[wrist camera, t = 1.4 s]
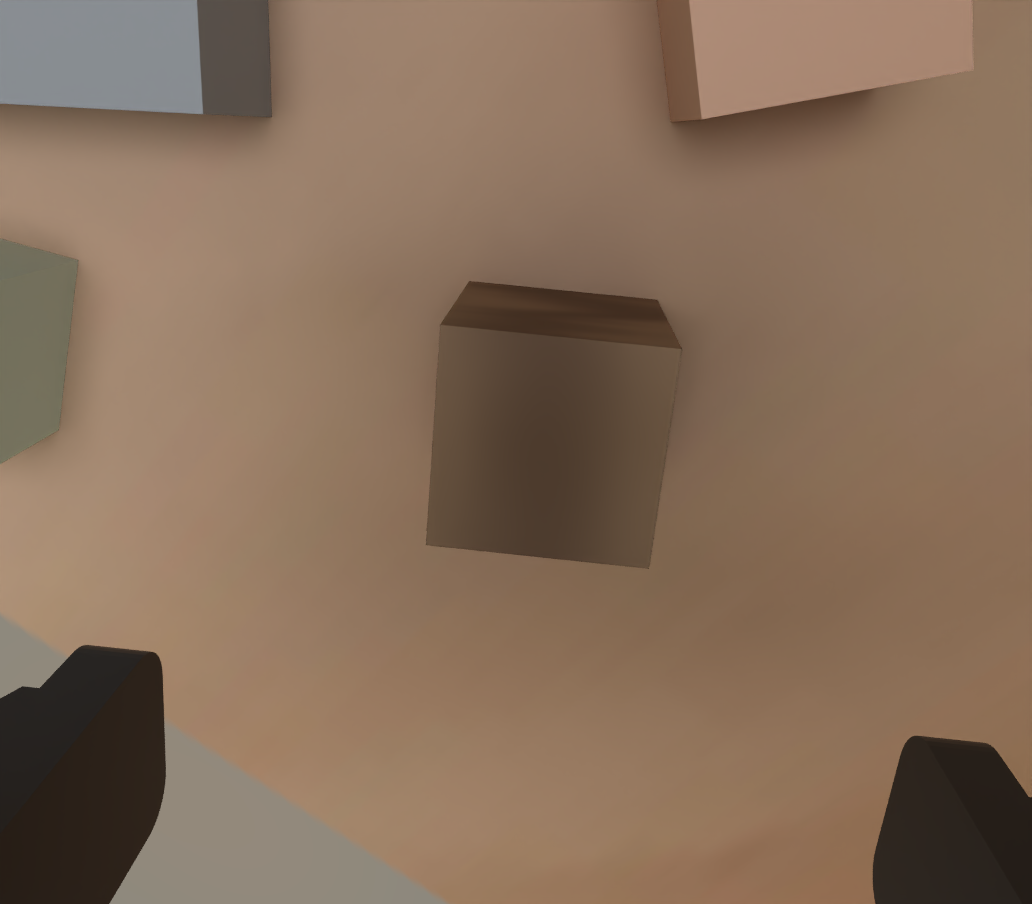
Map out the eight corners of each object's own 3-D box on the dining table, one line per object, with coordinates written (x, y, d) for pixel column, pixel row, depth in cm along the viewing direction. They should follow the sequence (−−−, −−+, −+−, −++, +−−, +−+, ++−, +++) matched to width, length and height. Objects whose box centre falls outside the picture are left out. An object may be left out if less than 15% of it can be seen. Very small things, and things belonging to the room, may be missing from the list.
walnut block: (657, 299, 25) (682, 349, 19) (632, 475, 27) (649, 568, 21) (469, 281, 25) (440, 324, 20) (456, 457, 27) (426, 545, 21)
